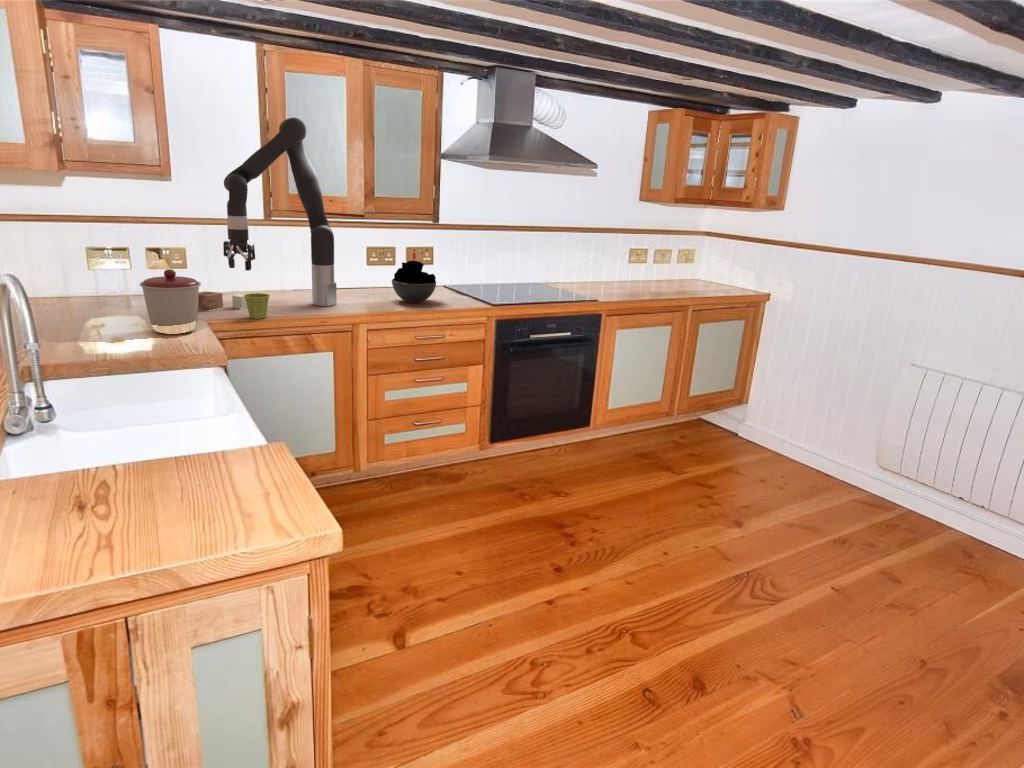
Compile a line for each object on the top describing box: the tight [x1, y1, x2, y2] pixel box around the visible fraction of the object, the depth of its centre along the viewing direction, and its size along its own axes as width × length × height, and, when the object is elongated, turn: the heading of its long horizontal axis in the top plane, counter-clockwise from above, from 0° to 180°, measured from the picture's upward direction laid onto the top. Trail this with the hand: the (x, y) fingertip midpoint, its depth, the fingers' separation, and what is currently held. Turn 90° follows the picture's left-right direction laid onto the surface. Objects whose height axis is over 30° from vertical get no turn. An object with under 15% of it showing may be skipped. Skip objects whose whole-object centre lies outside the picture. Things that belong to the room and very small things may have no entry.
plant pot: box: [243, 292, 271, 320], centre depth 247 cm, size 9×9×9 cm
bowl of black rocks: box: [391, 260, 437, 304], centre depth 296 cm, size 20×20×19 cm
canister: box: [139, 268, 202, 326], centre depth 218 cm, size 18×18×21 cm
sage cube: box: [231, 293, 248, 310], centre depth 263 cm, size 5×5×5 cm
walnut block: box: [198, 291, 224, 311], centre depth 257 cm, size 8×8×6 cm
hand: (240, 269), depth 260 cm, fingers open, 8 cm apart
